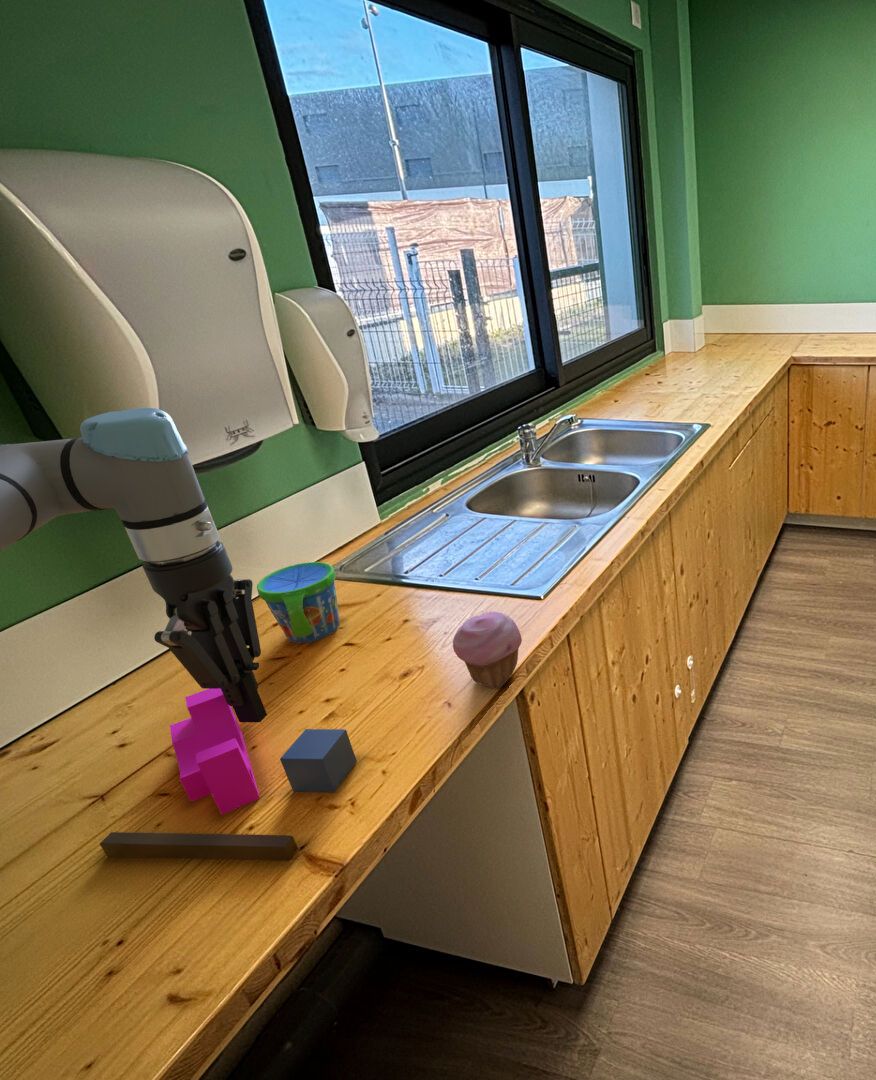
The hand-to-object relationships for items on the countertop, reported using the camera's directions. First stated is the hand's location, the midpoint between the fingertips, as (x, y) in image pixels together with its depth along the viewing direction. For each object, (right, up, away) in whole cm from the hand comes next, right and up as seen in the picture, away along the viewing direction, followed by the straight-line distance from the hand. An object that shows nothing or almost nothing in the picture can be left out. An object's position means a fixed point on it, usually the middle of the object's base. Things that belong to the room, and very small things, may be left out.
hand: (253, 718), depth 87 cm
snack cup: (-7, +7, +25) cm, 26 cm away
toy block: (-1, -6, -4) cm, 7 cm away
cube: (+12, -6, -5) cm, 14 cm away
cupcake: (+27, +3, +12) cm, 29 cm away
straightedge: (+4, -10, -14) cm, 18 cm away
